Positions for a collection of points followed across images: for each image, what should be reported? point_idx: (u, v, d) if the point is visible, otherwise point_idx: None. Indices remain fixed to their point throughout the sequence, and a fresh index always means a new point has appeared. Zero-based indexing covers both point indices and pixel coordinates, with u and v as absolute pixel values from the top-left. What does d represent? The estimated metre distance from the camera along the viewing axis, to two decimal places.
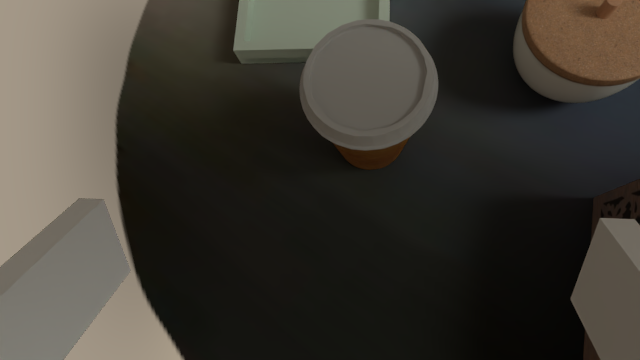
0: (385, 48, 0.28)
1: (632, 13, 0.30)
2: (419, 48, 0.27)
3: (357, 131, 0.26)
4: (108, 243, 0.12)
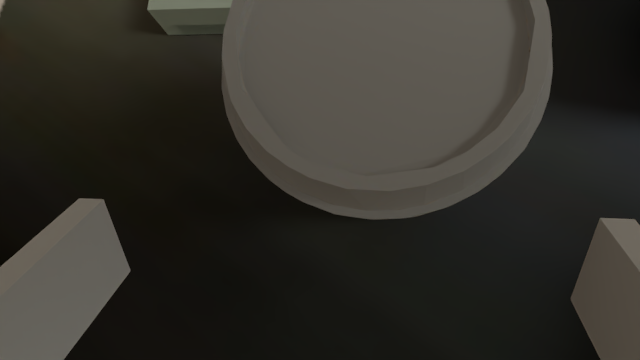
0: None
1: None
2: None
3: (352, 176, 0.10)
4: (108, 243, 0.12)
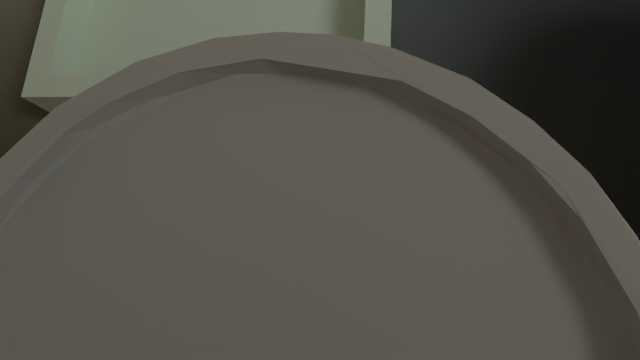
0: (367, 208, 0.05)
1: None
2: (592, 234, 0.04)
3: None
4: None
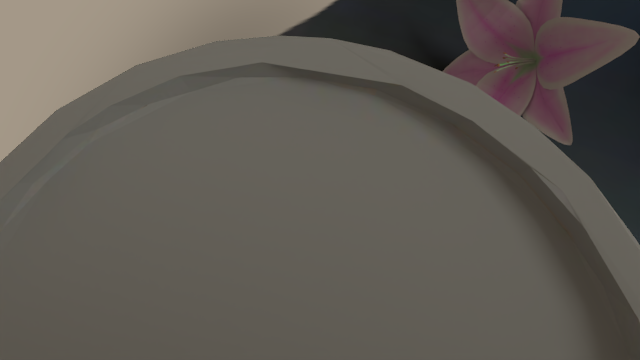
0: (367, 211, 0.05)
1: None
2: (592, 240, 0.04)
3: None
4: None
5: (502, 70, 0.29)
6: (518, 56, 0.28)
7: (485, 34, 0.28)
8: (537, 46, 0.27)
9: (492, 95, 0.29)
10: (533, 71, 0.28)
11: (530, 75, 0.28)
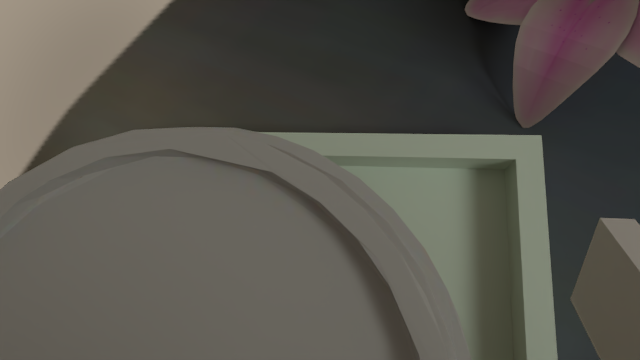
0: (246, 267, 0.06)
1: None
2: (396, 296, 0.06)
3: None
4: None
5: None
6: None
7: None
8: None
9: (558, 25, 0.17)
10: None
11: None
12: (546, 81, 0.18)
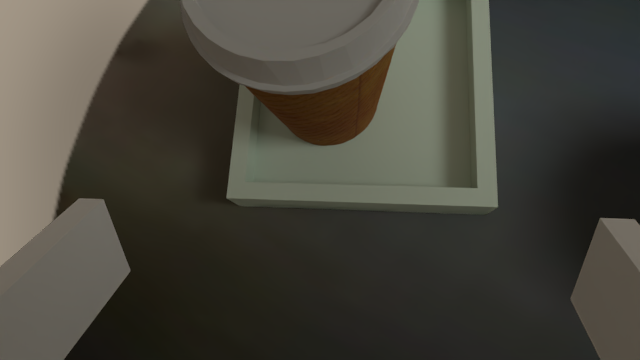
0: None
1: None
2: None
3: (267, 52, 0.14)
4: (108, 243, 0.12)
5: None
6: None
7: None
8: None
9: None
10: None
11: None
12: None
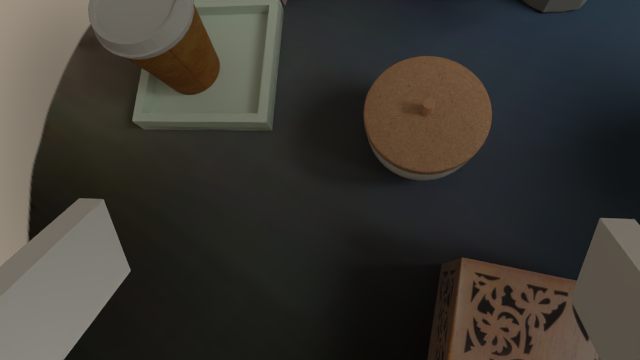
0: None
1: (450, 112, 0.35)
2: None
3: (121, 40, 0.35)
4: (108, 243, 0.12)
5: None
6: None
7: None
8: None
9: None
10: None
11: None
12: None
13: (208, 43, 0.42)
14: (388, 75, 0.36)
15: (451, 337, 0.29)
